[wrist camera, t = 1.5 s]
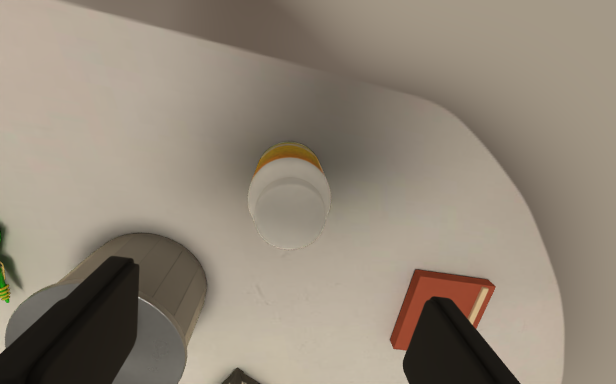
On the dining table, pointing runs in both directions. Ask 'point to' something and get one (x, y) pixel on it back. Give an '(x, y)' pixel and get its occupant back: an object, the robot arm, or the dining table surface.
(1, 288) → the green elongated plastic piece
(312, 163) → the supplement bottle
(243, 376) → the lantern
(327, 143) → the dining table surface
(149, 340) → the pot lid
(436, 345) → the robot arm
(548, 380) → the dining table surface
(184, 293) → the pot
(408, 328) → the book
